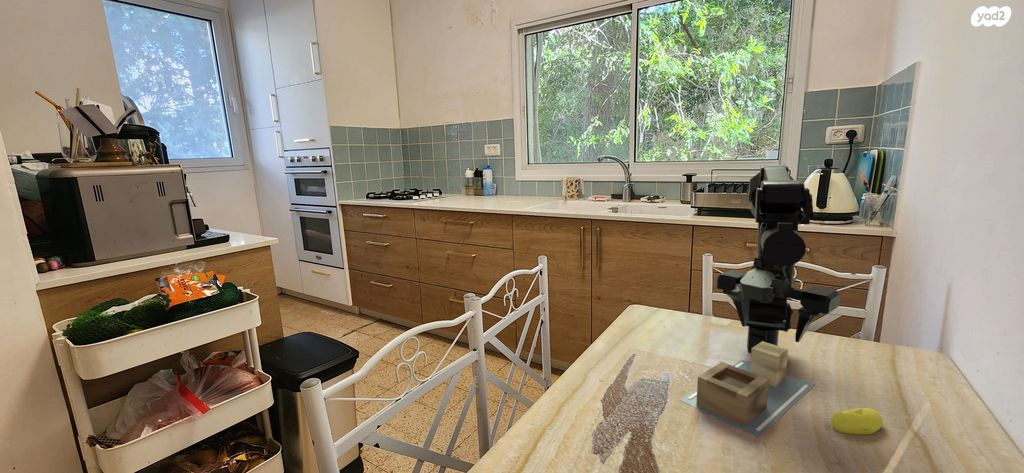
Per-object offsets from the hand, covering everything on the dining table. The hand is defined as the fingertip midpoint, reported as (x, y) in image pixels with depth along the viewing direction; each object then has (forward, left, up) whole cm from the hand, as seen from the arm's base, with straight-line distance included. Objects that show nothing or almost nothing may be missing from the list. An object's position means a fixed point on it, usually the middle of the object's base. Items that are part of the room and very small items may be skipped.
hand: (769, 333), depth 79 cm
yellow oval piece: (+5, +15, -10) cm, 19 cm away
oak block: (0, 0, -9) cm, 9 cm away
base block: (+14, 0, -9) cm, 17 cm away
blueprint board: (+7, 0, -10) cm, 12 cm away
